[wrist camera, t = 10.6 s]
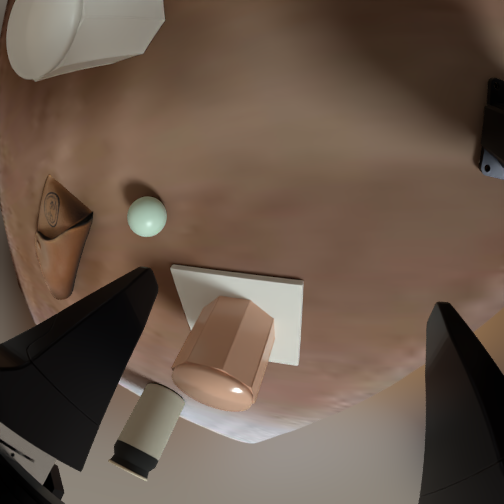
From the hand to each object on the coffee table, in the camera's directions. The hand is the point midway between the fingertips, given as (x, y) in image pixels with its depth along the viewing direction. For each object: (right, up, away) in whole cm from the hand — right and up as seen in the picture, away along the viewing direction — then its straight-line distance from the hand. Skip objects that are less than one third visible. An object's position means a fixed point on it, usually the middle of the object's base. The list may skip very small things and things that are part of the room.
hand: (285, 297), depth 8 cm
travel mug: (-17, -25, +41) cm, 51 cm away
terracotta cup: (-2, -6, +20) cm, 21 cm away
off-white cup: (-10, +18, +6) cm, 21 cm away
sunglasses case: (-24, +3, +23) cm, 34 cm away
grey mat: (-2, -5, +20) cm, 21 cm away
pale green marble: (-9, +5, +15) cm, 18 cm away
